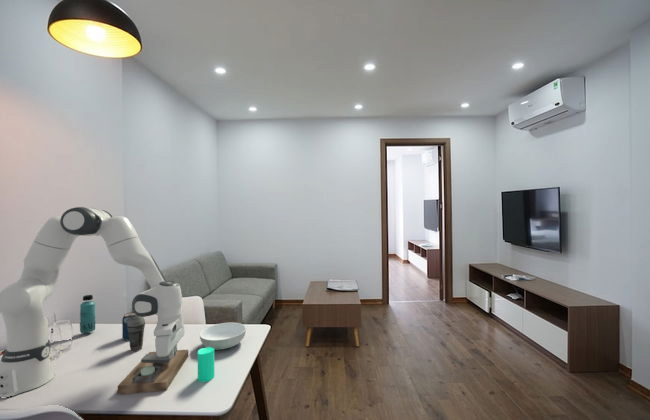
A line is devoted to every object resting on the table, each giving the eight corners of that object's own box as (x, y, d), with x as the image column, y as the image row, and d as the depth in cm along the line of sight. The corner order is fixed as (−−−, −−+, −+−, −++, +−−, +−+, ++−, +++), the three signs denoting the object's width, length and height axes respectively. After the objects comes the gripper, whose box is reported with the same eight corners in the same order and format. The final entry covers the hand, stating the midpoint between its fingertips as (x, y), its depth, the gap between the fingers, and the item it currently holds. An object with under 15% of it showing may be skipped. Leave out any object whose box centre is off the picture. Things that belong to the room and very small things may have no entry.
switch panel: (117, 394, 104) (117, 380, 104) (149, 359, 129) (149, 347, 129) (166, 390, 106) (166, 376, 106) (188, 356, 131) (188, 345, 131)
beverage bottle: (84, 331, 158) (84, 294, 158) (98, 330, 160) (98, 293, 160) (76, 336, 152) (76, 297, 152) (91, 335, 153) (91, 296, 153)
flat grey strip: (140, 362, 115) (141, 359, 115) (146, 356, 119) (146, 353, 119) (168, 363, 116) (168, 360, 116) (172, 357, 120) (172, 354, 120)
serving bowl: (219, 333, 155) (219, 320, 155) (254, 338, 149) (254, 325, 149) (189, 351, 136) (189, 336, 136) (227, 358, 129) (227, 342, 129)
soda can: (131, 341, 146) (131, 316, 146) (118, 340, 147) (118, 316, 147) (142, 335, 153) (141, 312, 153) (130, 334, 154) (130, 311, 154)
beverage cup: (130, 354, 133) (130, 309, 133) (124, 350, 137) (124, 306, 137) (148, 348, 138) (148, 305, 138) (141, 344, 143) (141, 302, 143)
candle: (215, 379, 113) (215, 347, 113) (198, 383, 110) (198, 351, 110) (213, 371, 118) (212, 341, 118) (196, 375, 115) (196, 345, 115)
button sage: (138, 379, 107) (138, 372, 107) (144, 372, 111) (144, 366, 111) (151, 378, 108) (151, 371, 108) (156, 371, 112) (156, 365, 112)
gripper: (172, 314, 128) (173, 346, 128) (151, 333, 108) (153, 371, 108) (187, 312, 129) (189, 344, 129) (169, 331, 109) (171, 369, 109)
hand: (172, 357), depth 118 cm, fingers closed, pressing on flat grey strip
